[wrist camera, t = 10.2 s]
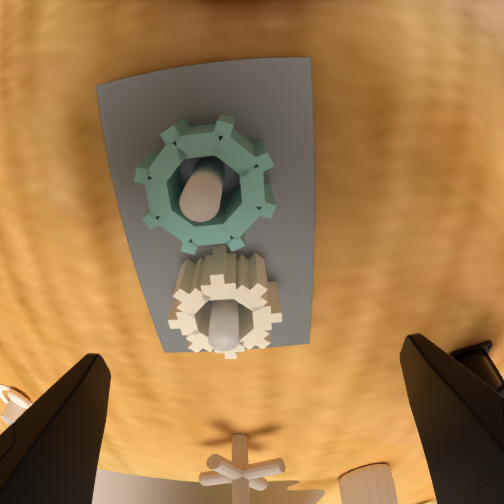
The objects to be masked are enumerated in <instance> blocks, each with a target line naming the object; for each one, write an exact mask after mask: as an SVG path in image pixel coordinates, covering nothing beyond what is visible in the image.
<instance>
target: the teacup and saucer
mask: <svg viewBox="0 0 504 504" xmlns="http://www.w3.org/2000/svg"><path fill="white" fill-rule="evenodd" d="M3 390H8V392H7V395H8V397H9V398H10V399H11V400H10V401H9V402H8V401H7V400H6V398H5V397H4V396H3V393H2V391H3ZM0 398H1V399H2V400H3V401H4V402H5V403H6V404H7V405H6V407H5V409H4V411H3V413H2V415H1V418H2V419H3V420H4V421H5V422H6V423H7V424H9V425H11V424H12V423H13V422H15V420H16V419H17V418H19V417H20V416H21V415H22V414H23V413H24V410H25V409H28V408H29V407H30V405H32V404H33V403H32V402H31V401H30V400H29V399H27V398H26V397H25V396H23V395H22V394H20V393H19V392H17V391H15V390H14V389H12V388H10V387H7V386H4V385H0Z"/></svg>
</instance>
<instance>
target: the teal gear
mask: <svg viewBox="0 0 504 504" xmlns="http://www.w3.org/2000/svg"><path fill="white" fill-rule="evenodd" d="M234 121H235V117H233V116H229V115H226V114H222V113H221V115H220V117H219V118H218V120H217V123H215V124H206V125H198V126H190V124H189V122H188V121H187V119H186V118H184V119H183V120H181V121H179V122H177V123H176V124H174V125H173V126H171V127H170V128H168V129H167V130H165V131H164V132H162V133H161V134H160V135H161V137H162V139H163V140H164V142H165V144H166V145H165V147H164V148H163V149H162V151H161V152H160V153H157V152H153V153H152V154H151V155H149V156H148V157H147V158H146V159H145V160H144V161H143V162H142V163H141V164H139V165H138V166H137V168H136V173H135V178H134V182H137V183H141V184H145V188H146V193H147V198H148V202H149V208H148V209H147V211H146V213H145V214H144V216H143V217H142V219H143V221H144V222H145V223H146V225H147V226H148V228H149V229H150V230H151V229H153V228H155V227H157V226H158V225H159V226H161V227H162V228H164V229H165V230H167V231H168V232H169V233H171V234H172V235H174V236H175V237H177V238H178V239H179V240H181V241H182V242H183V244H182V248H181V251H182V252H185V253H189V254H193V255H195V252H196V249H197V246H200V245H212V244H224V243H227V245H228V246H229V248H230V250H231V251H232V252H233V251H235V250H237V249H240V248H242V247H244V246H245V231H246V230H247V229H248V228H249V227H250V226H251V225H252V224H253V223H254V222H255V221H256V219H257V218H258V217H259V216H262V217H265V218H269V219H271V218H272V215H273V213H274V210H275V208H276V202H275V199H274V195H273V191H272V188H271V184H268V183H265V182H264V178H263V172H264V171H266V170H268V169H270V168H272V167H274V164H273V161H272V159H271V156H270V154H269V151H268V149H267V147H266V145H265V143H264V141H263V140H261V141H258V142H256V143H254V144H252V143H251V142H250V141H249V140H247V139H246V138H245V137H244V136H243V135H241V134H240V133H239V132H238V131H236V130H235V129H234V128H233V126H234ZM214 155H215V156H217V157H218V158H219V159H221V160H222V161H223V162H224V163H226V164H227V165H228V166H230V167H231V168H232V169H233V170H235V171H236V172H237V173H238V174H240V185H239V186H238V187H237V188H236V189H235V191H234V192H233V193H232V194H231V195H230V196H229V197H228V199H227V200H222V201H220V207H219V210H218V212H217V214H216V215H215V216H214V217H213V218H212V219H210V220H208V221H205V222H196V221H193V220H190V219H189V218H187V217H186V216H185V215H184V214H183V213H182V211H181V208H180V204H179V201H180V196H181V194H182V192H183V190H184V189H183V188H182V183H181V177H180V171H179V165H180V164H181V162H182V161H183V160H184V159H188V158H196V157H205V156H214Z"/></svg>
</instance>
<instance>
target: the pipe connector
mask: <svg viewBox="0 0 504 504" xmlns="http://www.w3.org/2000/svg"><path fill="white" fill-rule="evenodd" d="M207 467H209V468H210V469H211V470H213V471H208V472H201V473H200V475H199V481H200V483H201V484H202V485H203V486H207V485H216V484H223V483H231V482H232V504H250V502H249V501H250V499H249V487H251V488H254V489H256V490H264V489H265V488H266V487H267V484H268V482H267V480H266V479H264V478H262V477H265V476H270V475H275V474H280V473H284V472H285V464H284V461H283V460H282V459H281V458H276V459H272V460H268V461H264V462H259V463H254V464H249V465H248V440H247V436H246V435H244V434H236V435H233V436H232V462H231V461H229V460H227V459H226V458H224V457H222V456H220V455H218V454H213V455H211V456H210V457H209V458H208V460H207Z"/></svg>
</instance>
